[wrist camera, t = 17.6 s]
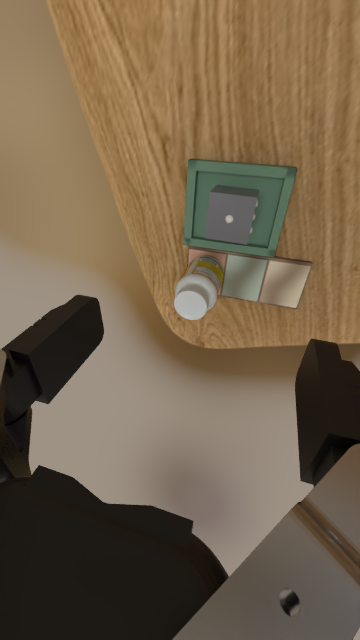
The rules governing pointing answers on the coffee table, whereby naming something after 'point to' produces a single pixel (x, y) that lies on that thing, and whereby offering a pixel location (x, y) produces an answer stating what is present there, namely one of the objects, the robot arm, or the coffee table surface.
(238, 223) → the die
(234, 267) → the track
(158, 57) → the coffee table surface
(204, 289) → the supplement bottle
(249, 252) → the tray
